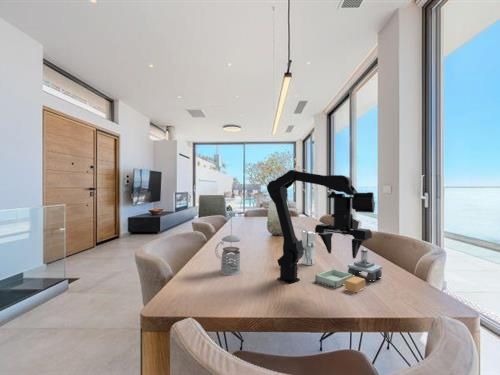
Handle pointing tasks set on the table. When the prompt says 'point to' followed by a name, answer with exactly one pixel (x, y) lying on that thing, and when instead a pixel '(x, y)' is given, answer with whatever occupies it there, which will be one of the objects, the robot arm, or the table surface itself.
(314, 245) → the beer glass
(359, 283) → the orange rectangular block
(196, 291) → the table surface
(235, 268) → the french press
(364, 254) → the pin
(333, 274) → the tray
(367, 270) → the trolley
